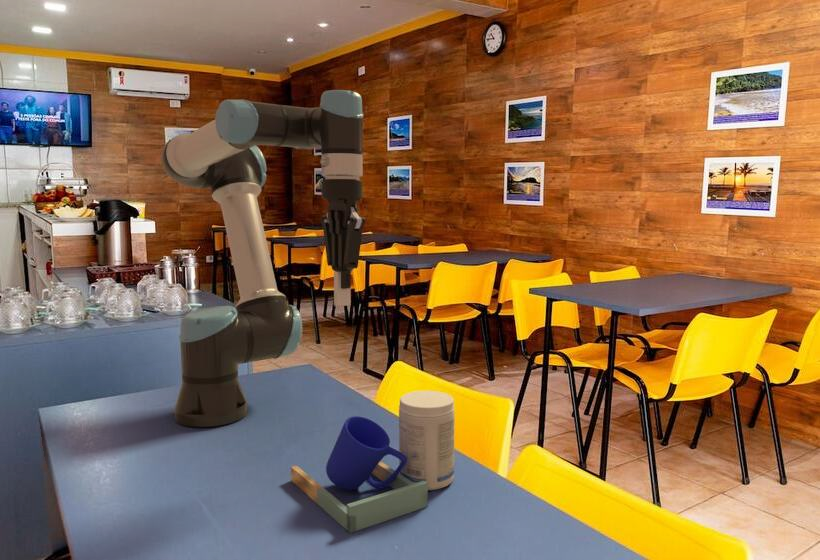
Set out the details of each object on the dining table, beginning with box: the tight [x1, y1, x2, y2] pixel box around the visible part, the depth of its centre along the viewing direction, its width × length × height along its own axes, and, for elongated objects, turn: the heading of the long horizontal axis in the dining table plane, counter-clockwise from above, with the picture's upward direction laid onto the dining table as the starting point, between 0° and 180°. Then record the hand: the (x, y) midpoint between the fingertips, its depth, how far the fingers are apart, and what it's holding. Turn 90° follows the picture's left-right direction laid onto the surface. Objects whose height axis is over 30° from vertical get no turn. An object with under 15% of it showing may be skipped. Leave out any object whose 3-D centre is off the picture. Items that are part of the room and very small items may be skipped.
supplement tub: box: [398, 390, 455, 491], centre depth 107 cm, size 10×10×15 cm
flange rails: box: [290, 460, 391, 504], centre depth 107 cm, size 10×14×2 cm
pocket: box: [316, 467, 429, 534], centre depth 99 cm, size 10×14×4 cm
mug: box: [325, 415, 408, 491], centre depth 104 cm, size 8×12×10 cm
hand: (342, 305), depth 117 cm, fingers closed
